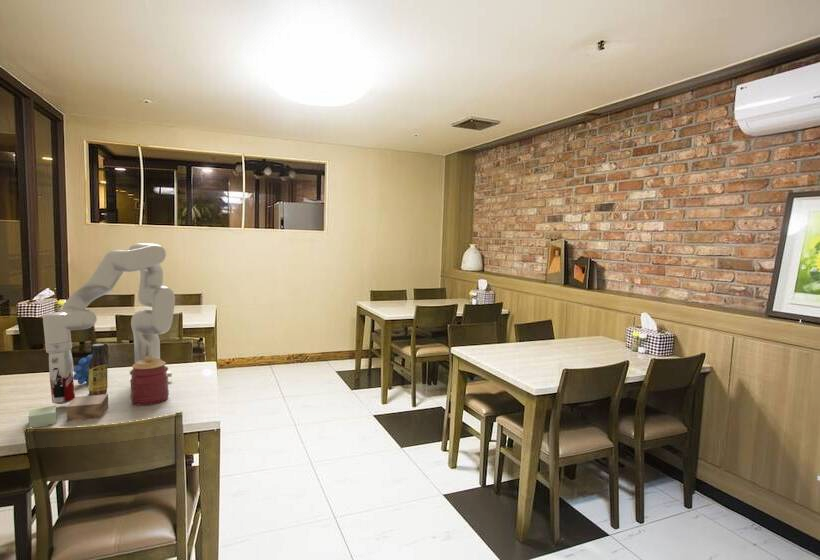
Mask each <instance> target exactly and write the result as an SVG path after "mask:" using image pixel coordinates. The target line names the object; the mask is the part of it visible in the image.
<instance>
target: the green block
mask: <svg viewBox="0 0 820 560" xmlns="http://www.w3.org/2000/svg"><path fill="white" fill-rule="evenodd" d="M27 417H28V428H29V429H31V428H30V427H34V428H39V427H40V428H41V427H44V426H43V425H45V426H49V425H48V424H51V425H57V406H56V405H53V406H47V407H46V406H45V407H40V408H33V409H29V411H28V416H27Z"/></svg>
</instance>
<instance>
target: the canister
mask: <svg viewBox="0 0 820 560" xmlns="http://www.w3.org/2000/svg"><path fill="white" fill-rule="evenodd" d="M166 364H167V363H166V361H164V360H163V359H161V358H160V359H156V358H153V357H152V356H151V355H148V356H146V357H145V359H144V360H140V361H137V362H136V363H135V362H134V364H132V366H131V367H132V369H131V370H130V371H129V375H130V376H131V377H130V380H129V382H130V402H131V403H132V404H133V405H135V406H148V405H154V404H159V403H162V402H164V401H166V400H168V399H169V394H170V393H169V392H170V391H169V377H168V375H167V372H168V370H169V367H168V366H167V365H166Z"/></svg>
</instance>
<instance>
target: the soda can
mask: <svg viewBox="0 0 820 560" xmlns="http://www.w3.org/2000/svg"><path fill="white" fill-rule="evenodd" d="M73 376H74V372H70V374H69V376H68V377H67V378H63V386H64V388H65V396H64V397H58V398H54V392H53V382H52V379H51V378H50V377H49V383H50V394H51V403H53V404H55V405H63V404H67V403H68V404H69V403H70V402H71V401H72V400H73V399H74V398H75V397H76V395H75V383H74V381H75V380H74V379H73ZM58 378H61V376H58ZM58 381H60V382H61V380H58Z"/></svg>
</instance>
